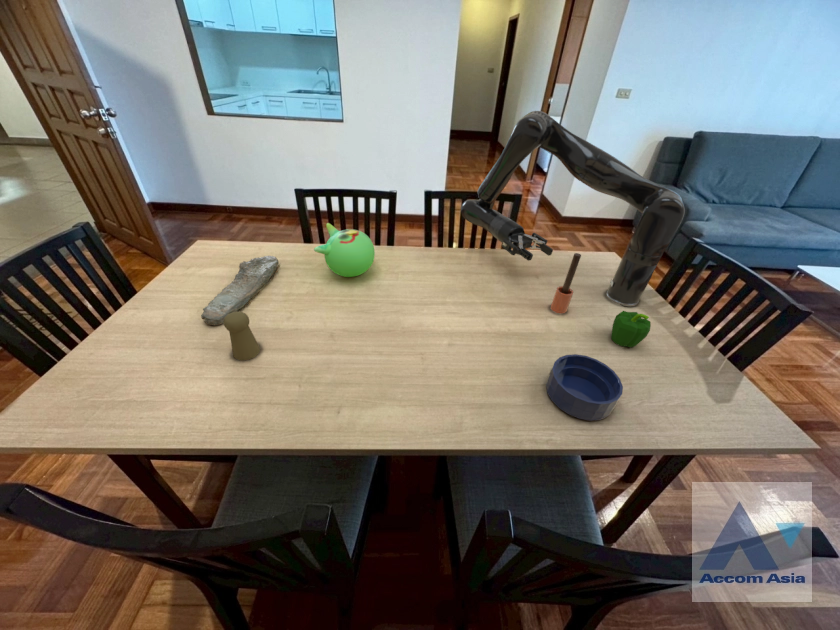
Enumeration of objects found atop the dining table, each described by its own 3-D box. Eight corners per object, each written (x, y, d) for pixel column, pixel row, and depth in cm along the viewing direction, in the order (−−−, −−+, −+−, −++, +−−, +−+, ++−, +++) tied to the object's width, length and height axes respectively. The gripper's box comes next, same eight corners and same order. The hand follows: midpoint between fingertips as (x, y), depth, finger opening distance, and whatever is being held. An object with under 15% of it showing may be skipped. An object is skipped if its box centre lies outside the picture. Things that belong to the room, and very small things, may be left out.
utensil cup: (558, 304, 108) (565, 284, 104) (569, 312, 105) (577, 293, 101) (546, 307, 107) (553, 288, 102) (557, 316, 103) (565, 296, 99)
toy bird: (371, 287, 111) (369, 244, 102) (317, 284, 111) (311, 241, 102) (377, 259, 125) (376, 220, 116) (330, 257, 125) (325, 217, 116)
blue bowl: (577, 365, 87) (585, 347, 83) (626, 408, 77) (637, 390, 73) (532, 383, 82) (539, 364, 78) (578, 431, 72) (588, 413, 68)
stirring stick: (558, 306, 106) (577, 252, 96) (563, 309, 105) (582, 255, 94) (554, 307, 106) (572, 253, 95) (558, 311, 105) (577, 256, 94)
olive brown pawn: (265, 347, 87) (255, 311, 80) (248, 363, 82) (235, 326, 76) (245, 340, 88) (233, 305, 82) (227, 356, 84) (213, 320, 77)
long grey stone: (193, 327, 93) (229, 334, 93) (187, 312, 90) (224, 318, 89) (258, 259, 120) (286, 264, 119) (255, 246, 116) (284, 250, 116)
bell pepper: (599, 335, 97) (612, 306, 91) (620, 329, 100) (635, 300, 94) (623, 355, 91) (640, 325, 85) (646, 348, 94) (663, 318, 88)
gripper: (492, 223, 110) (528, 248, 100) (525, 217, 116) (562, 240, 106) (486, 244, 115) (520, 270, 105) (518, 237, 121) (553, 261, 111)
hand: (541, 255), depth 106 cm, fingers open, 8 cm apart
